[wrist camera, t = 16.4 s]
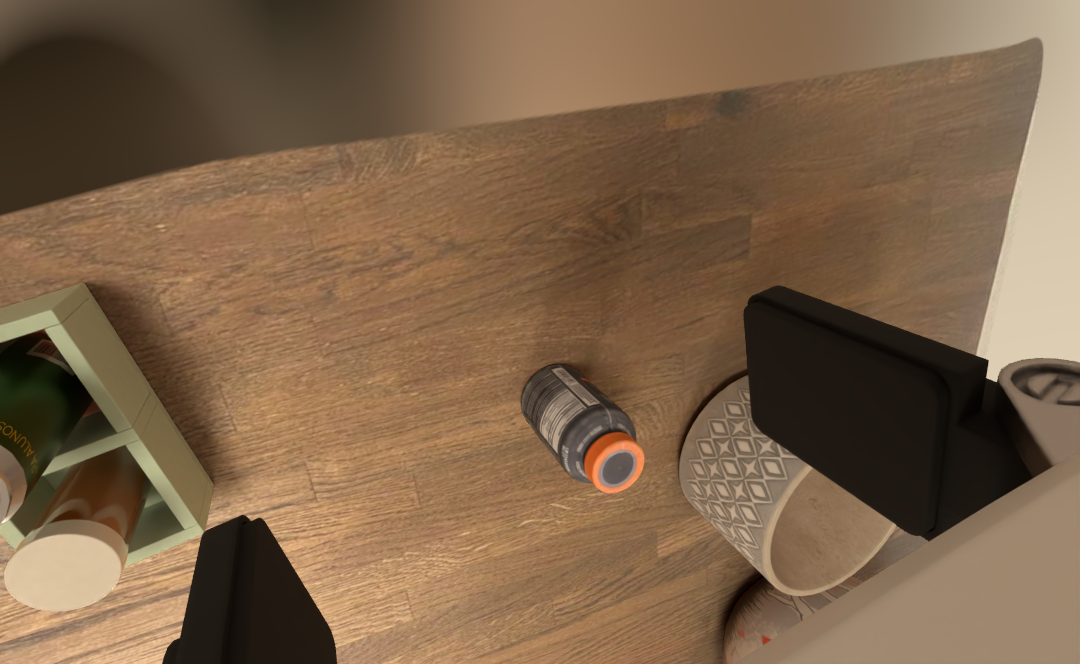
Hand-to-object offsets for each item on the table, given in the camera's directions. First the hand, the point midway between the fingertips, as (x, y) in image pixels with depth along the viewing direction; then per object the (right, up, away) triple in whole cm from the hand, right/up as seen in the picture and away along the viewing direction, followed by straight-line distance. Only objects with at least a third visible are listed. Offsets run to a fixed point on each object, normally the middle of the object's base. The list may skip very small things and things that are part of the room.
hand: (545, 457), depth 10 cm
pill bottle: (+1, -3, +37) cm, 37 cm away
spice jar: (-27, -6, +25) cm, 37 cm away
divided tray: (-28, -3, +24) cm, 37 cm away
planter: (+20, -9, +48) cm, 52 cm away
